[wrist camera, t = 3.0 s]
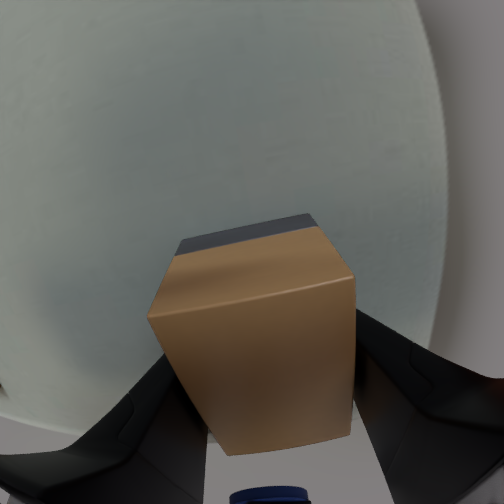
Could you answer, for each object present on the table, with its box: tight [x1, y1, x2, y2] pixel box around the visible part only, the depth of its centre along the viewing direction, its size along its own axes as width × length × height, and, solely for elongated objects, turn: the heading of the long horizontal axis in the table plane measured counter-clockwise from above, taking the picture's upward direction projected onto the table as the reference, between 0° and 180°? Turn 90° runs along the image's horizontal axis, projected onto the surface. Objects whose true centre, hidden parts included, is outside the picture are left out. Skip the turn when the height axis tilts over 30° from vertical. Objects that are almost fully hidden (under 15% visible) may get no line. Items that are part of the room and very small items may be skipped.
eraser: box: [147, 213, 356, 456], centre depth 8 cm, size 6×4×4 cm, turn 12°
